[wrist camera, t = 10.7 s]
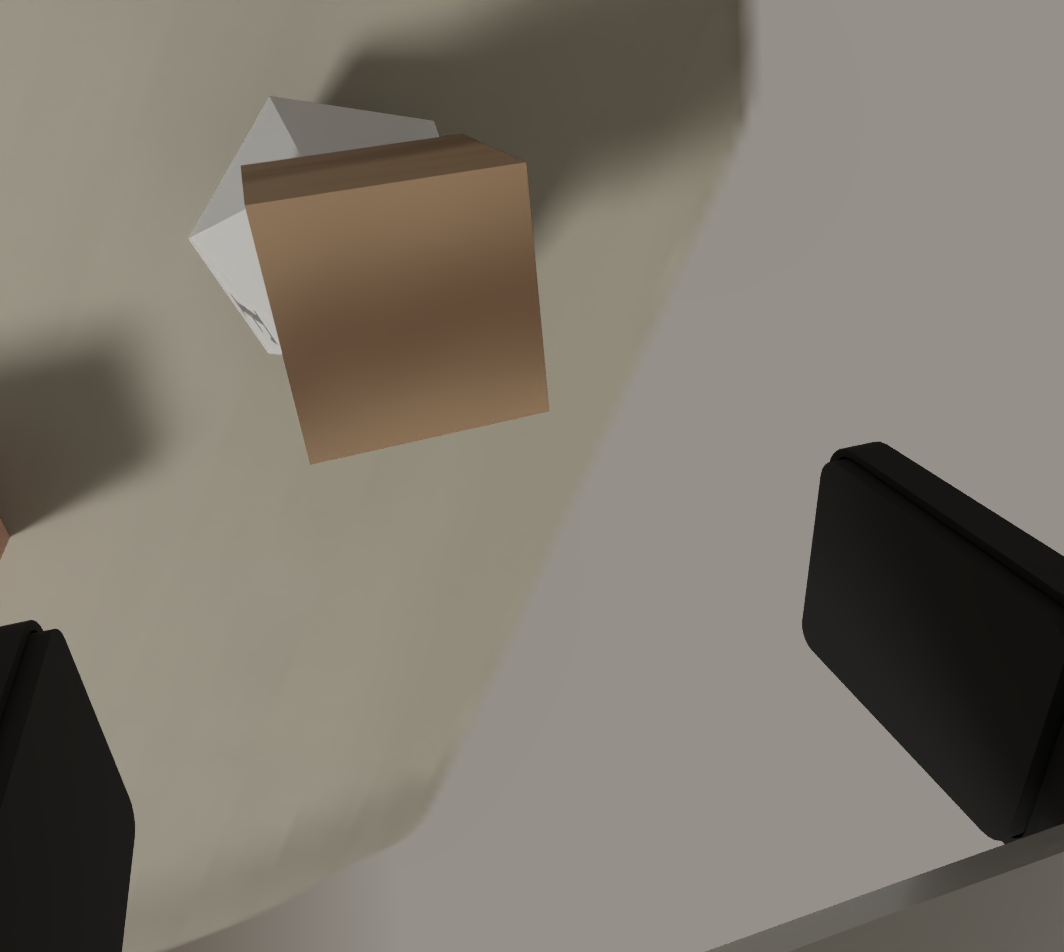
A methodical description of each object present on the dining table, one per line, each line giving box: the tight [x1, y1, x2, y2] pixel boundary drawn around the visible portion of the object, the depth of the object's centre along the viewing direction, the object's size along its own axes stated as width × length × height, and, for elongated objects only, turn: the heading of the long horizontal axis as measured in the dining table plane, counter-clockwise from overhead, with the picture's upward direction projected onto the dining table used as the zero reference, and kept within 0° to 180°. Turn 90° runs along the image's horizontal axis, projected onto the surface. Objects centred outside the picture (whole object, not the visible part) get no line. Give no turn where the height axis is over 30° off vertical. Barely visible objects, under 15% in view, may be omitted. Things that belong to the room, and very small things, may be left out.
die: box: [188, 96, 439, 355], centre depth 28 cm, size 8×9×10 cm
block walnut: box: [241, 134, 549, 464], centre depth 22 cm, size 6×6×6 cm
